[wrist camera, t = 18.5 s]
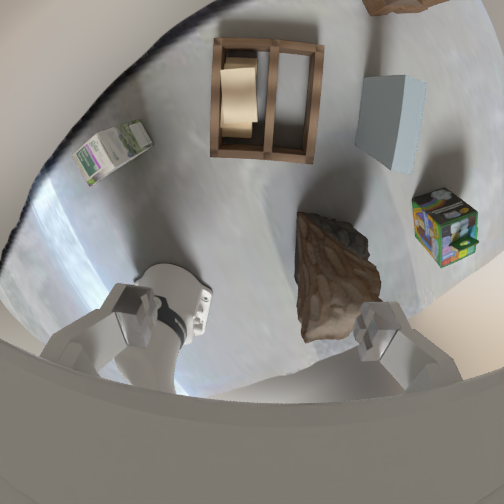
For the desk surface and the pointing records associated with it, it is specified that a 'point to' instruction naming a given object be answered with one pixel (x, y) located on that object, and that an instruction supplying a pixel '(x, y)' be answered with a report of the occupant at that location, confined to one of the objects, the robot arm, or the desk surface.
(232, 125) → the middle pine offcut
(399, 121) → the tall sheet
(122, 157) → the syrup box
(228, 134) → the long pine offcut
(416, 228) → the chalk box
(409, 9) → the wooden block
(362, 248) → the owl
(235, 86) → the short pine offcut
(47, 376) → the robot arm
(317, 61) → the walnut rack
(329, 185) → the desk surface
